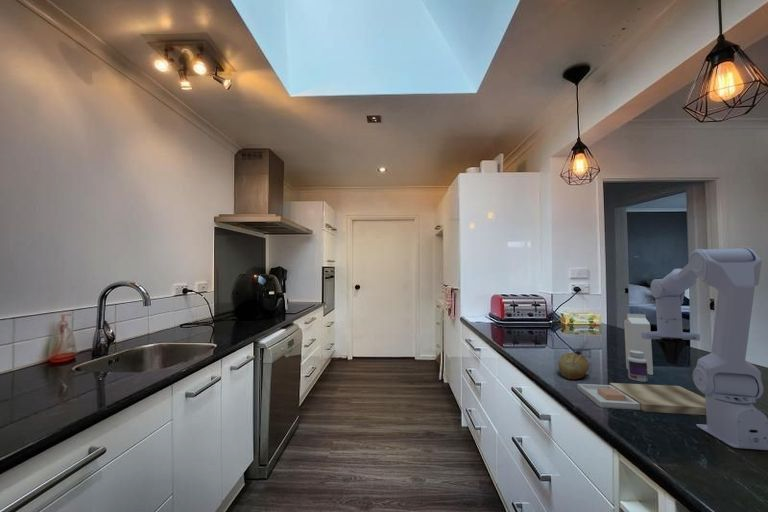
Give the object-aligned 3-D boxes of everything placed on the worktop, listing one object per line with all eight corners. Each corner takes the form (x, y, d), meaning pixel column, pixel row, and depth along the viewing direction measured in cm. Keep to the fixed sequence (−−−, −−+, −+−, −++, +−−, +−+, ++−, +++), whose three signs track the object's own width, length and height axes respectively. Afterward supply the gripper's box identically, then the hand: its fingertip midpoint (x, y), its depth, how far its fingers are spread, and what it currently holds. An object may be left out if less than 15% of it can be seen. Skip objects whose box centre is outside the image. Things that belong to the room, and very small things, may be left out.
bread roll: (591, 372, 115) (589, 351, 115) (588, 384, 103) (586, 360, 103) (562, 367, 121) (561, 347, 121) (556, 378, 109) (555, 356, 109)
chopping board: (679, 392, 95) (678, 385, 95) (728, 416, 79) (727, 408, 79) (609, 389, 98) (609, 382, 98) (644, 411, 82) (643, 404, 82)
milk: (626, 368, 118) (622, 312, 120) (644, 370, 116) (641, 313, 118) (634, 373, 112) (630, 314, 114) (653, 375, 111) (649, 315, 112)
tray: (610, 390, 97) (610, 385, 97) (640, 409, 83) (640, 404, 83) (577, 388, 99) (577, 383, 99) (601, 407, 85) (600, 401, 85)
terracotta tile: (615, 394, 93) (615, 389, 93) (625, 401, 88) (625, 395, 88) (597, 393, 94) (597, 388, 94) (606, 400, 89) (606, 394, 89)
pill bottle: (651, 382, 103) (650, 354, 104) (634, 381, 104) (632, 353, 105) (641, 377, 109) (640, 350, 109) (624, 376, 110) (623, 349, 110)
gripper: (684, 316, 95) (687, 360, 94) (634, 316, 97) (636, 358, 96) (705, 320, 88) (708, 367, 87) (649, 319, 90) (652, 365, 89)
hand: (671, 363), depth 91 cm, fingers closed
